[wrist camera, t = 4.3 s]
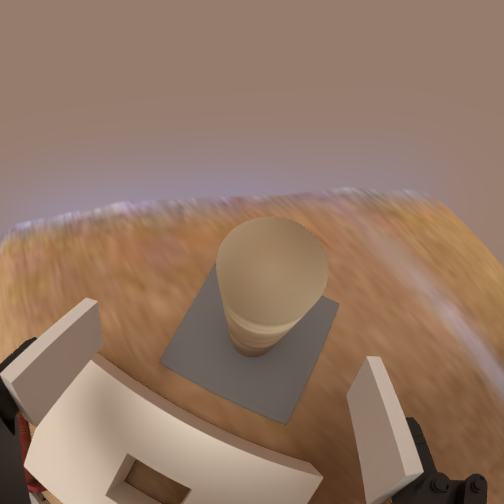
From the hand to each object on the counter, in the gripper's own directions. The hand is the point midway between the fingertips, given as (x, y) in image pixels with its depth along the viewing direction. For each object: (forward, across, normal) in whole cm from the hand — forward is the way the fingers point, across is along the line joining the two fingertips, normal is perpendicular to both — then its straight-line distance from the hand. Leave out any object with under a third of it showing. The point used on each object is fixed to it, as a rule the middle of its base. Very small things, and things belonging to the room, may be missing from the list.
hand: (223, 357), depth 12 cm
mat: (+9, +1, -5) cm, 10 cm away
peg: (+8, +1, -4) cm, 9 cm away
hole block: (-1, -4, -15) cm, 15 cm away
